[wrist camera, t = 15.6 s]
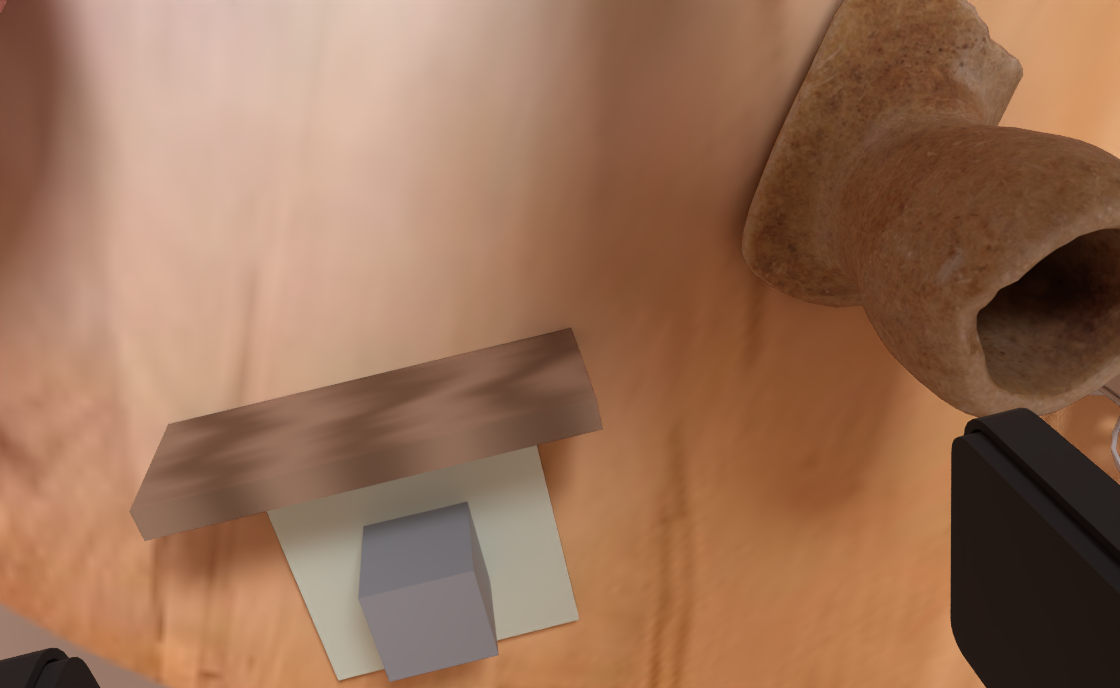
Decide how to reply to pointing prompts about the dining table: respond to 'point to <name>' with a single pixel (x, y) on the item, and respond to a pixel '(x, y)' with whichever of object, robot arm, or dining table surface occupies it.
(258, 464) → the walnut screen
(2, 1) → the balloon
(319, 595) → the display mat
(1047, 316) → the stone cup
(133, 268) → the dining table surface
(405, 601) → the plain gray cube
